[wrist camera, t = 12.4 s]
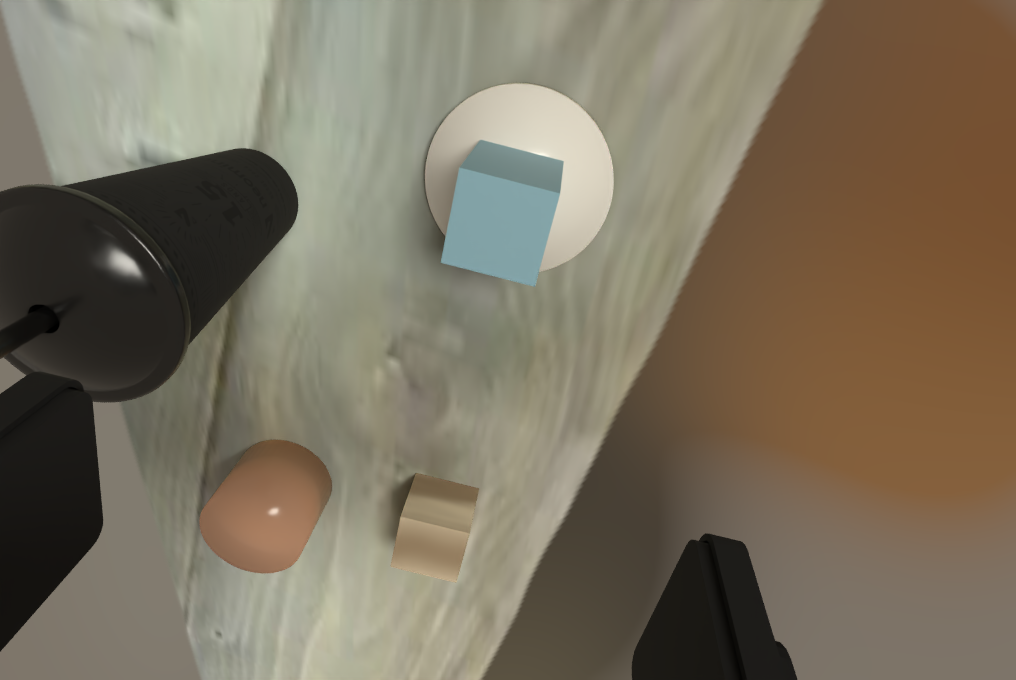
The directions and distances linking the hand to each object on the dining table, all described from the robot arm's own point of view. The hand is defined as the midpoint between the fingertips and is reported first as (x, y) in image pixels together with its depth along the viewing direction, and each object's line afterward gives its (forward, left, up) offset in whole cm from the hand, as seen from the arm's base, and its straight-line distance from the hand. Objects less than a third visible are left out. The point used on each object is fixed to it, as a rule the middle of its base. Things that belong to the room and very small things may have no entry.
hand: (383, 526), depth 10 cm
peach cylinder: (+22, -10, -24) cm, 34 cm away
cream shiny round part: (0, 0, -24) cm, 24 cm away
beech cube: (+21, 0, -25) cm, 32 cm away
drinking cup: (+4, -13, -25) cm, 28 cm away
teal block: (+1, 0, -24) cm, 24 cm away
